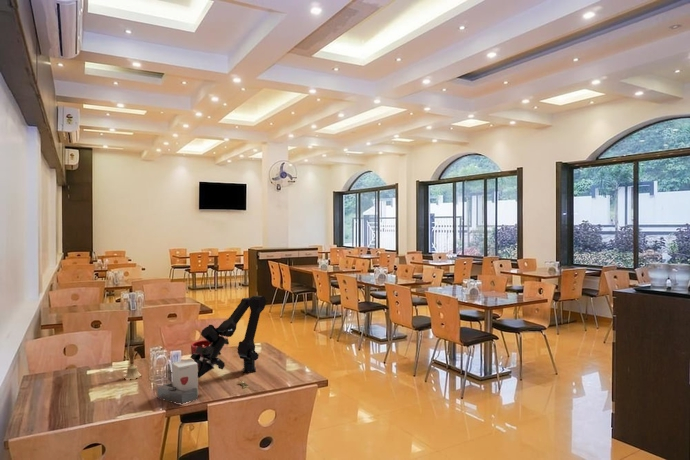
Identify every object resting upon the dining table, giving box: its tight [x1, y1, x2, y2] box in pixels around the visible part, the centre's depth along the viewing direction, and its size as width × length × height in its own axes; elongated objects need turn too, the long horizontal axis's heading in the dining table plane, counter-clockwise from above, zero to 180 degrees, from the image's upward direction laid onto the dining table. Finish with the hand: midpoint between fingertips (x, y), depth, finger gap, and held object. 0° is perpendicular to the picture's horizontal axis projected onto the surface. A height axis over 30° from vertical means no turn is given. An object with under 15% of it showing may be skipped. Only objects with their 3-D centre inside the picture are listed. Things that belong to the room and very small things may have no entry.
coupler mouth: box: [157, 381, 198, 404], centre depth 210 cm, size 8×17×6 cm, turn 56°
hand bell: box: [124, 345, 142, 378], centre depth 240 cm, size 8×8×16 cm
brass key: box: [237, 380, 249, 389], centre depth 225 cm, size 8×3×1 cm, turn 37°
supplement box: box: [171, 358, 199, 397], centre depth 213 cm, size 9×9×15 cm
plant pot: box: [190, 339, 211, 368], centre depth 257 cm, size 13×13×12 cm
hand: (197, 377), depth 219 cm, fingers closed
